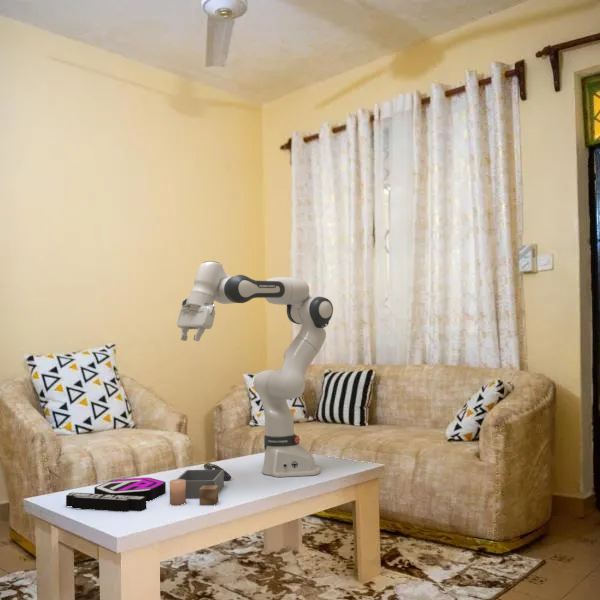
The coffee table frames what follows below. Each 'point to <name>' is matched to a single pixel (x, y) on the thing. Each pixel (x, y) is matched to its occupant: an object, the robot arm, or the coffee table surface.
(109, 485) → the sign
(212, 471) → the box
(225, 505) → the coffee table surface
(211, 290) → the robot arm
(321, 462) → the coffee table surface
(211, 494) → the walnut cube
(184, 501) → the terracotta canister
